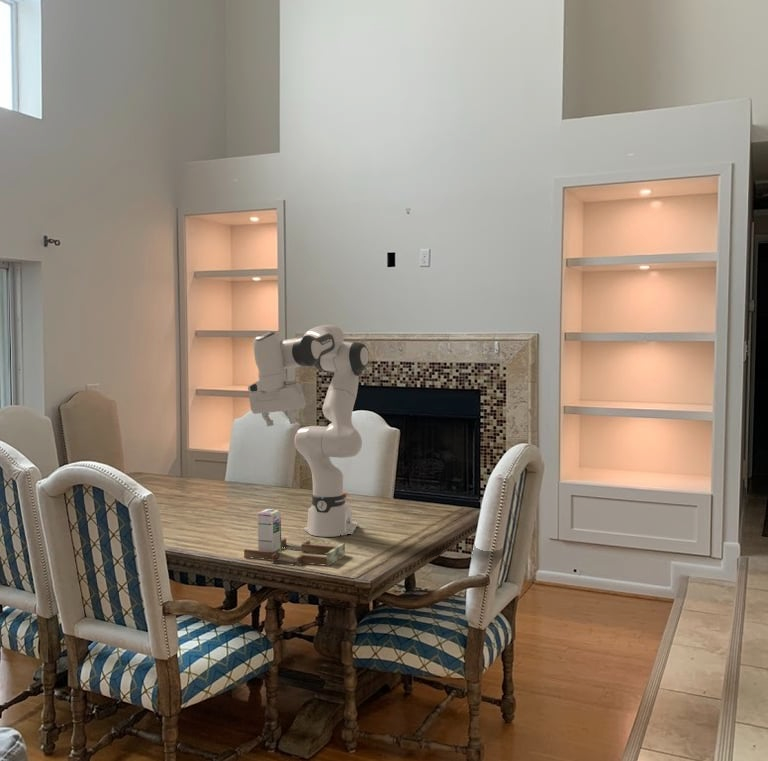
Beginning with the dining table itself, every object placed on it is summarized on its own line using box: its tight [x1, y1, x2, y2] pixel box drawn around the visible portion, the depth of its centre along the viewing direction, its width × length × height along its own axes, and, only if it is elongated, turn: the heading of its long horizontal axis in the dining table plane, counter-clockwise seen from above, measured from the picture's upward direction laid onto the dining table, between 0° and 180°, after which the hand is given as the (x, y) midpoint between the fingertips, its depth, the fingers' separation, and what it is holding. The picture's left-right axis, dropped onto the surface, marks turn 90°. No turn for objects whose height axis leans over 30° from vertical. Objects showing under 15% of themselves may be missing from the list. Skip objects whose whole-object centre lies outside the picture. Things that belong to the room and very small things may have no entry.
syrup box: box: [256, 508, 282, 554], centre depth 268 cm, size 6×6×14 cm
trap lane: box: [243, 537, 346, 566], centre depth 266 cm, size 20×30×4 cm
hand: (281, 424), depth 262 cm, fingers open, 8 cm apart
